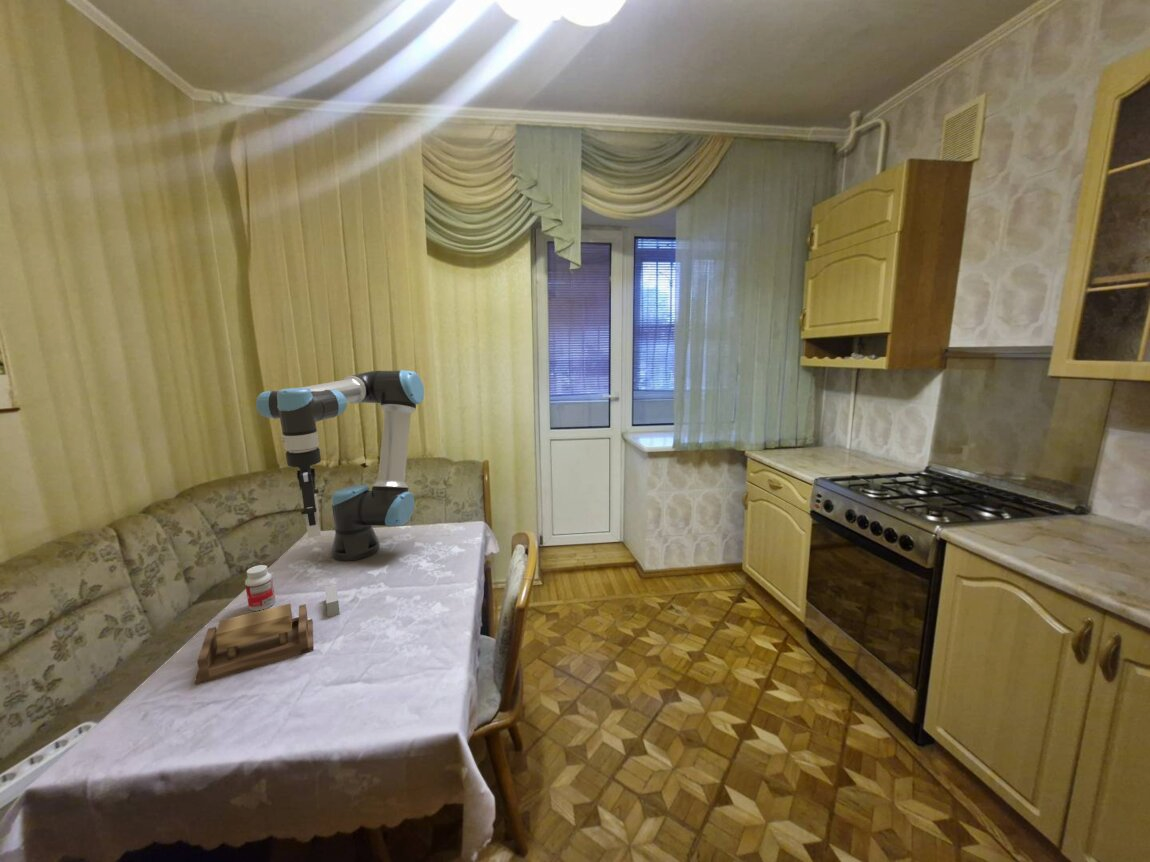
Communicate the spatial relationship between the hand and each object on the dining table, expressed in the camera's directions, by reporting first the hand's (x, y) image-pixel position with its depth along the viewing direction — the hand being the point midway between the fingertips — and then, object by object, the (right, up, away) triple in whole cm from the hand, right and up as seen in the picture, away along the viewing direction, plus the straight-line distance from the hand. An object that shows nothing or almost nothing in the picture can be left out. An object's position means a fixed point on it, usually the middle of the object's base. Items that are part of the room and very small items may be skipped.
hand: (314, 526), depth 121 cm
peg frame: (-6, -27, -13) cm, 30 cm away
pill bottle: (-18, -24, +6) cm, 30 cm away
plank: (-6, -22, -13) cm, 27 cm away
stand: (+2, -23, +5) cm, 24 cm away
